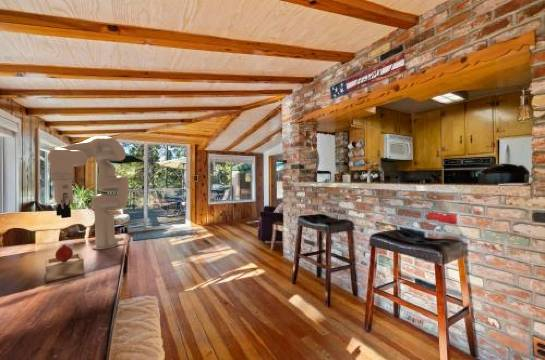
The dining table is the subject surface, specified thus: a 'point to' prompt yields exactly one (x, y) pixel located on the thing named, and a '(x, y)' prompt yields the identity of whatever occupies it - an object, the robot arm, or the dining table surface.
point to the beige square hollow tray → (64, 267)
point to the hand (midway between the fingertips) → (63, 216)
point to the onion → (64, 253)
